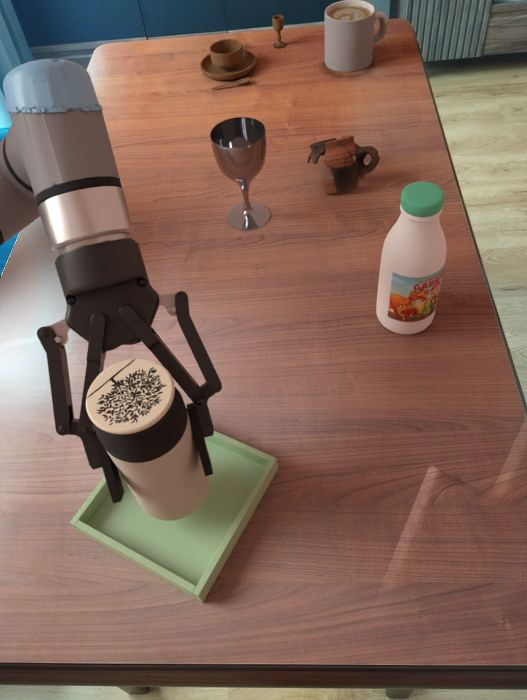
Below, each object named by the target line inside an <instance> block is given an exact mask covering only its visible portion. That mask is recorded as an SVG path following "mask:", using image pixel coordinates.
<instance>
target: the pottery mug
mask: <svg viewBox="0 0 527 700" xmlns="http://www.w3.org/2000/svg"><path fill="white" fill-rule="evenodd" d="M309 148H310V153H309V155H308V156H307V161H306V163H307V164H309V163H310V162H311V163H313V164H314V165H317V164H318V162H319V159H320V158H321V157H323V156H324V158H323V163H324V165H325V166H326V167H327V168H330V169H329V170H330V172H331V175H332V177H333V178H330V179H326V180H323V181H322V186H323V189H324V194H326V195H328V194H329V195H331V194H336V193H343V192H344V193H345V192H349V191H352V190H353V191H354V190H356V189H358V187H359V181H360V179H365V178H364V177H365V176H366V175H367V174H370V173H372V172H374V170H375V169H376V168H377V167H378V165H379V163H380V160H381V157H380V155H379V151H378V149H377V148H376V147H374V146H372V145H365V146H360V145H358V144H357V143H356V142H355V137H354V135H343V136H342V137H341V138H336V137H333V138H328V139H324V140H320V141H316V142H313V143H311V144H309ZM368 155H369V156H370V161H369V162H368V164H365V162H364V161H365V159H366V157H367V156H368ZM354 157H355V159H353V158H354Z"/></svg>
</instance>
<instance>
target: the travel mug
mask: <svg viewBox="0 0 527 700" xmlns="http://www.w3.org/2000/svg"><path fill="white" fill-rule="evenodd" d="M174 381H175V380H174V379H173V377H172V376H171V374H170V373H169V371H168V370H167V369H166V368H165V367H164V366H163V365H162V364H161V363H160V362H158V361H155V360H151V359H147V358H137V357H136V358H129V359H125V360H121V361H119V362H116V363H114V364H112V365H110V366H108V367H106V368H105V369H103V372H102V373H100V374H99V375H98V376H97V378H96V379H95V380H94V381H93V383H92V384H91V386H90V388H89V390H88V393H87V397H86V410H87V413H88V416H89V418H90V419H91V421H92V422H93V423H94V424H95V430H96V434H97V436H98V438H99V440H100V441H101V443H102V444H103V446H104V448H105V449H106V451H107V452H108V454H109V456H110V457H111V459H112V460H113V462H114V464H115V465H116V467H117V469H118V470H119V472H120V473H121V475H122V477H123V478H124V480H125V481H126V483H127V485H128V486H129V488H130V489H131V491H132V493H133V494H134V496H135V498H136V499H137V501H138V502H139V504H140V506H141V507H142V509H143V510H144V511H145V512H146V513H147V514H148V515H150V516H152V517H154V518H156V519H159V520H164V521H173V520H178V519H182V518H184V517H187V516H189V515H190V514H192V513H193V512H195V511H196V510H197V509H198V508H199V507H200V506H201V505H202V504H203V502H204V501H205V499H206V497H207V495H208V492H209V489H210V475H209V476H205V473H204V470H203V466H202V463H201V459H200V456H199V452H198V449H197V445H196V441H195V438H194V434H193V431H192V427H191V424H190V420H189V416H188V412H187V405H186V404H185V401H184V398H183V395H182V393H181V391H180V390H179V389H178V388H177V387H176V386H175V382H174Z"/></svg>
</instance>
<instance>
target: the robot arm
mask: <svg viewBox="0 0 527 700" xmlns="http://www.w3.org/2000/svg"><path fill="white" fill-rule="evenodd" d="M2 88H3V89H2V90H3V94H4V99H5V105H6V107H5V111H6V113H8V114H9V117H10V119H11V123H12V124H11V126H10V127H9V129H8V131H7V133H6V134H5V136H4V137H3V138H2V139H1V141H0V247H1V246H2V245H4V244H5V243H7V242H8V241H9V240H11V239H12V238H14V237H15V236H16V235H17V234H19V233H20V232H22V231H23V230H24V229H25V228H27V227H28V226H30V225H31V224H32V223H33V222H35V221H36V220H37V219H38V218H40V219H41V222H42V227H43V229H44V233H45V237H46V240H47V243H48V246H49V249H50V251H52V252H54V253H55V252H56V253H58V256H56V258H55V261H54V262H53V263H54V266H55V269H56V272H57V276H58V279H59V282H60V285H61V290H62V293H63V296H64V299H65V303H66V311H65V312H66V313H65V315H64V318H63V319H61V320H59V321H57V322H54V323H52V324H50V325H45V326H41V327H39V328H38V329H37V331H36V336H37V338H38V340H39V342H40V344H41V346H42V348H43V350H44V352H45V353H46V362H47V370H48V379H49V387H50V395H51V402H52V411H53V419H54V428H55V432H56V433H57V434H58V435H59V436H62V437H63V436H76V437H78V438H80V440H81V443H82V446H83V449H84V452H85V454H86V458H87V463H88V465H89V467H90V468H91V469H92V470H93V471H94V470H98V469H101V468H102V471H103V475H104V476H105V479H106V482H107V485H108V488H109V492H110V495H111V498H112V502H113V503H117V502H120V501H121V500H122V497H123V494H124V489H123V485H122V482H121V479H120V475H119V472H118V469H117V467H116V465H115V464H114V462H113V460H112V459H111V457H110V456H109V454H108V452H107V451H106V449H105V448H104V446H103V444H102V443H101V441H100V440H99V438H98V436H97V434H96V430H95V424H94V423H93V422H92V421H91V419H90V418H89V416H88V413H87V410H86V397H87V393H88V390H89V388H90V386H91V384H92V383H93V381H94V380H95V379H96V378H97V376H98V375H99V374H100V373H102V372H103V371H104V368H105V360H106V357H107V352H111V351H113V350H117V348H119V347H121V346H133V345H136V344H139V343H140V344H141V342H142V343H143V345H144V346H145V347H146V348H147V349H148V350H149V351H150V352H151V353H152V354H153V356H154V357H155V358H156V360H157V361H158V363H159V364H161V365H162V366H164V367H165V368H166V369H167V370H168V371H169V373H170V374H171V376H172V378H173V381H175V382H176V383H177V386H179V387H180V389H181V390H182V391H183V392H184V393H185V395H186V396H187V397H188V398H189V399H190V400H191V401H192V402H190V403H187V404H186V409H187V412H188V416H189V420H190V424H191V427H192V431H193V434H194V438H195V441H196V445H197V449H198V452H199V456H200V459H201V463H202V466H203V470H204V473H205V476H209V475H212V474H213V469H212V464H211V461H210V457H209V453H208V450H207V446H206V443H205V439H204V438H206V437H209V436H213V434H214V431H215V427H214V423H213V420H212V416H211V413H210V408H209V405H208V401H209V400H210V398H211V397H212V396H214V395H216V394H218V393H220V392H221V391H222V389H223V384H222V381H221V379H220V377H219V375H218V372H217V370H216V368H215V366H214V364H213V362H212V359H211V357H210V356H209V353H208V351H207V348H206V347H205V344H204V342H203V341H202V338H201V336H200V334H199V331H198V329H197V328H196V325H195V323H194V321H193V319H192V316H191V315H190V314H191V313H190V304H189V303H190V302H189V295H188V293H186V291H184V290H179V291H177V292H173V293H158V292H157V291H156V290H155V289H154V288H153V286H152V285H151V282H150V279H149V276H148V272H147V269H146V265H145V262H144V258H143V254H142V252H141V248H140V244H139V242H138V241H136V239H134V238H132V237H130V236H132V235H133V234H134V232H135V231H136V230H135V225H134V222H133V218H132V215H131V211H130V208H129V204H128V200H127V198H126V194H125V190H124V187H123V186H122V182H121V177H120V173H119V170H118V166H117V162H116V157H115V154H114V151H113V147H112V144H111V139H110V136H109V132H108V128H107V124H106V120H105V117H104V113H103V110H104V109H103V106H102V105H101V104H100V103H99V99H98V96H97V93H96V90H95V88H94V84H93V81H92V78H91V76H90V74H89V72H88V70H87V69H86V68H85V67H84V66H83V65H81V64H79V63H77V62H75V61H72V60H69V59H64V58H43V59H36V60H31V61H28V62H25V63H21V64H19V65H17V66H15V67H14V68H12V69H11V70H10V71H9V72H8V73H7V74H6V75H5V76H4V79H3V82H2ZM160 306H162V307H164V308H165V309H166V311H167V314H168V315H169V316H172V317H176V319H177V322H178V325H179V327H180V329H181V332H182V334H183V336H184V338H185V341H186V342H187V344H188V347H189V348H190V351H191V353H192V355H193V357H194V360H195V361H196V363H197V365H198V367H199V370H200V372H201V374H202V376H203V378H204V380H205V382H204V383H202V384H201V385H199V384H198V382H197V381H196V380H195V379H194V378H193V376H192V375H191V374H190V372H189V371H188V370H187V369H186V368H185V366H184V365H183V364H182V362H181V361H180V360H179V359H178V358H177V357H176V355H175V353H173V351H171V349H170V348H169V347H168V346H167V344H166V343H165V342H164V340H163V339H162V338H161V337H160V335H159V334H158V332H156V330H155V329H154V328H153V327H152V325H153V323H154V320H155V318H156V315H157V312H158V310H159V307H160ZM70 330H72V331H73V332H74V333H76V334H77V335H78V336H80V337H81V338H82V339H84V340H85V341H86V342H87V343H88V345H87V351H86V365H85V366H86V367H85V373H84V381H83V387H82V397H81V404H80V412H79V418H75V413H74V412H75V411H74V404H73V396H72V395H73V394H72V388H71V387H72V386H71V380H70V372H69V363H68V354H67V349H66V347H65V345H66V344H68V342H69V331H70Z"/></svg>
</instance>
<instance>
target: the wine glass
mask: <svg viewBox="0 0 527 700" xmlns="http://www.w3.org/2000/svg"><path fill="white" fill-rule="evenodd" d="M209 137H210V144H211V149H212V153H213V155H214V156H213V157H214V158H215V161H216V162H215V163H216V164H217V166H218V169H219V170H220V172H221V173H222V174H223V175H224V176H225V177H226V178H228V179H230V180H231V181H232V182H234V183H236V184H237V185H238V187H239V189H240V191H241V193H242V198H243V202H241V203H239V204H236V205H234V206H233V207H232V208H230V210H229V211H228V212H227V215H226V221H227V223H228V225H230V226H231V227H232V228H233V229H236V230H239V231H253V230H258V229H261V227H263V226H264V225H267V223H268V222H269V221H270V220H271V219H270V218H271V211H270V209H269V207H267V206H266V205H265V204H263V203H260V202H257V201H250V186H251V184H252V182H253V181H254V179H255V178H257V176H259V174H260V173H261V172H262V170H263V169H264V166H265V162H266V156H267V147H268V145H267V132H266V127H265V125H264V123H262V122H261V121H260V120H258V119H256V118H254V117H248V116H236V117H231V118H226V119H224V120H222V121H220V122H218V123H216V125H215V126H214V127H212V129H211V131H210V134H209Z"/></svg>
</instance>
